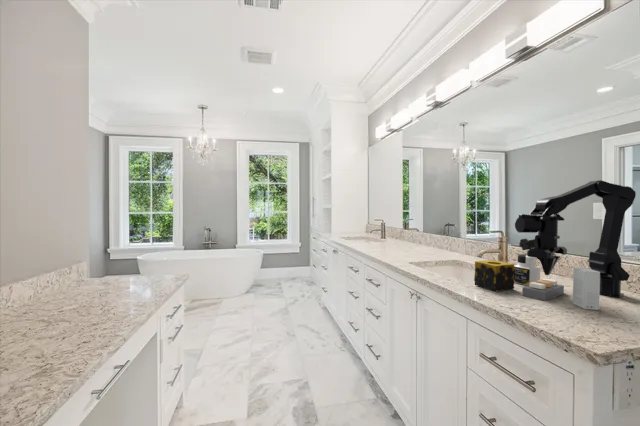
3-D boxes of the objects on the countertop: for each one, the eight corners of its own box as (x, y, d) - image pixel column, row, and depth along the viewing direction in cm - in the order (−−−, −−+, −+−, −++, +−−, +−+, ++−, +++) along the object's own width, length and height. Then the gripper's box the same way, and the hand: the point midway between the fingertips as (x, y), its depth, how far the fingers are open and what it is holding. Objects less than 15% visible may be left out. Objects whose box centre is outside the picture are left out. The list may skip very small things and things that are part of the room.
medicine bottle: (511, 282, 127) (512, 254, 127) (522, 280, 130) (523, 253, 130) (529, 286, 120) (529, 256, 120) (540, 284, 123) (540, 255, 123)
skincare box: (599, 310, 92) (600, 271, 92) (584, 309, 93) (585, 271, 93) (586, 304, 98) (587, 268, 98) (571, 303, 99) (572, 267, 99)
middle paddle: (538, 283, 111) (538, 280, 111) (551, 286, 108) (551, 282, 108) (535, 284, 110) (535, 281, 110) (548, 287, 106) (548, 283, 106)
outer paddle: (532, 285, 108) (532, 281, 108) (545, 288, 105) (545, 284, 105) (529, 286, 107) (529, 282, 107) (542, 289, 104) (542, 285, 104)
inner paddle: (544, 282, 114) (544, 278, 114) (557, 284, 110) (557, 280, 110) (541, 283, 112) (541, 279, 112) (554, 285, 109) (554, 281, 109)
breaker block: (541, 289, 116) (541, 281, 116) (563, 293, 110) (563, 285, 110) (522, 295, 107) (522, 287, 107) (545, 300, 101) (545, 292, 101)
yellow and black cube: (492, 283, 125) (492, 259, 125) (515, 289, 115) (515, 264, 115) (473, 285, 122) (473, 260, 122) (494, 291, 112) (495, 265, 112)
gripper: (533, 230, 122) (533, 268, 122) (511, 232, 111) (511, 274, 112) (567, 232, 112) (567, 273, 113) (547, 234, 102) (546, 280, 102)
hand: (547, 275), depth 110 cm, fingers closed
